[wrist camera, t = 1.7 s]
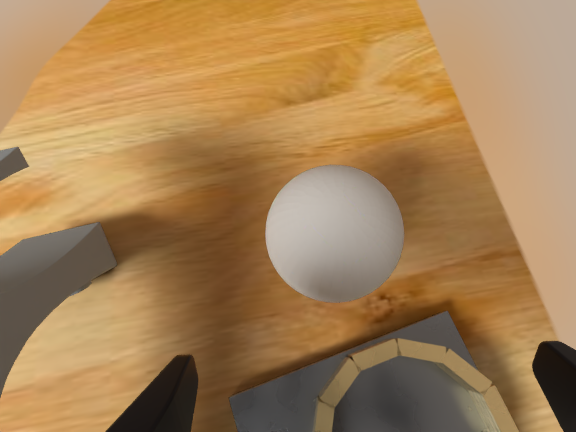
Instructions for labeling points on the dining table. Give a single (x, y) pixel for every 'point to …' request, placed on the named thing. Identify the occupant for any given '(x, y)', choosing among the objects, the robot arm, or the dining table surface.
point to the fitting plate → (381, 389)
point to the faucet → (43, 274)
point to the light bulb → (334, 233)
